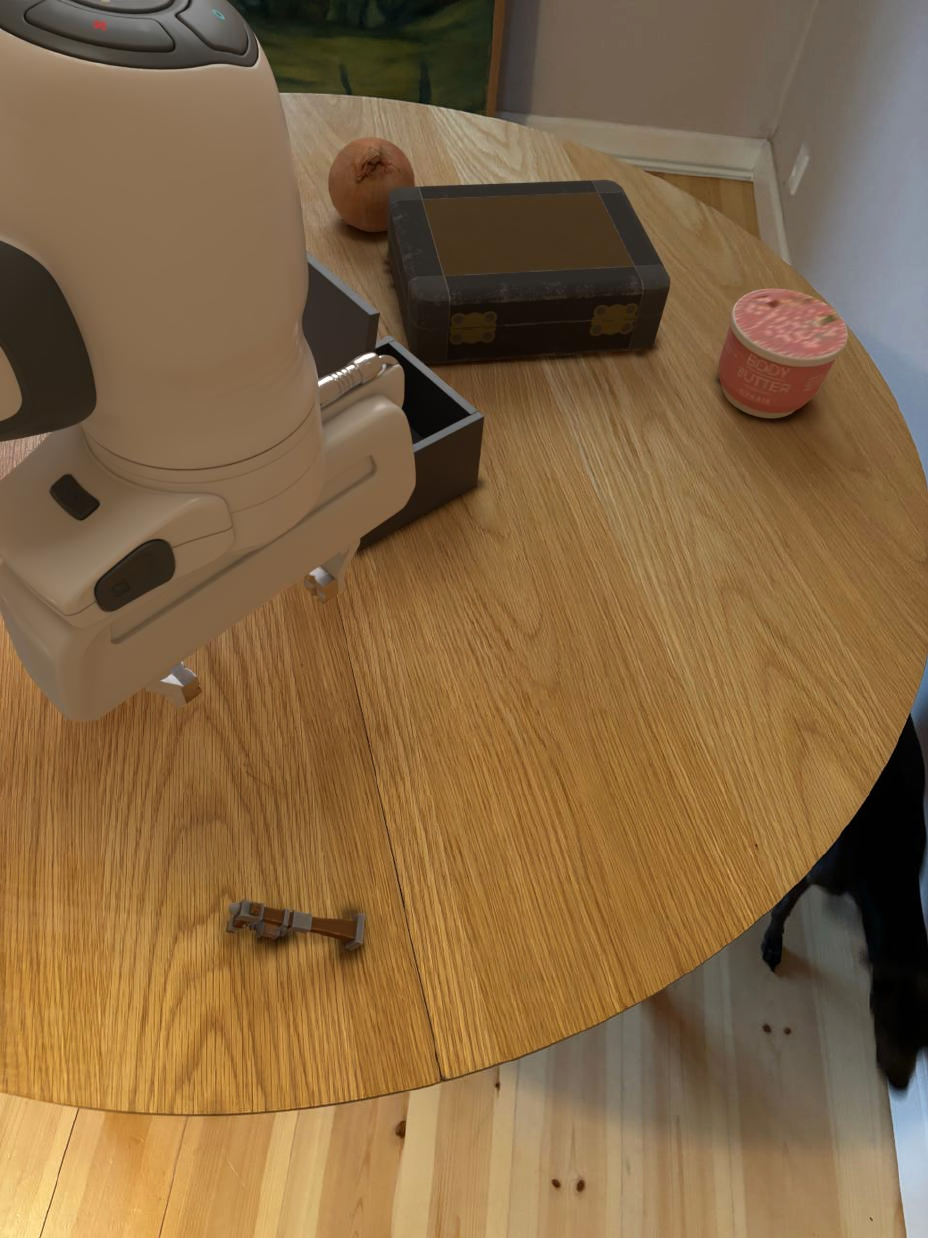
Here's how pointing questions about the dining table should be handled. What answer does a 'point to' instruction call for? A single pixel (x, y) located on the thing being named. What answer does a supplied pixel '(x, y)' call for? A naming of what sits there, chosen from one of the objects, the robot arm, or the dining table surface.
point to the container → (778, 351)
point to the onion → (367, 181)
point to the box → (432, 440)
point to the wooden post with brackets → (293, 923)
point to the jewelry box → (523, 270)
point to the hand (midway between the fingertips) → (256, 639)
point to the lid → (336, 320)
